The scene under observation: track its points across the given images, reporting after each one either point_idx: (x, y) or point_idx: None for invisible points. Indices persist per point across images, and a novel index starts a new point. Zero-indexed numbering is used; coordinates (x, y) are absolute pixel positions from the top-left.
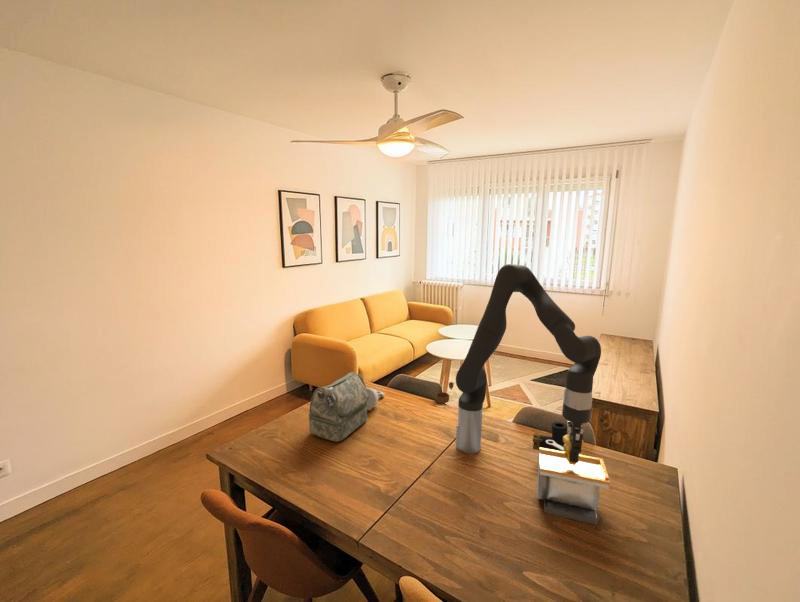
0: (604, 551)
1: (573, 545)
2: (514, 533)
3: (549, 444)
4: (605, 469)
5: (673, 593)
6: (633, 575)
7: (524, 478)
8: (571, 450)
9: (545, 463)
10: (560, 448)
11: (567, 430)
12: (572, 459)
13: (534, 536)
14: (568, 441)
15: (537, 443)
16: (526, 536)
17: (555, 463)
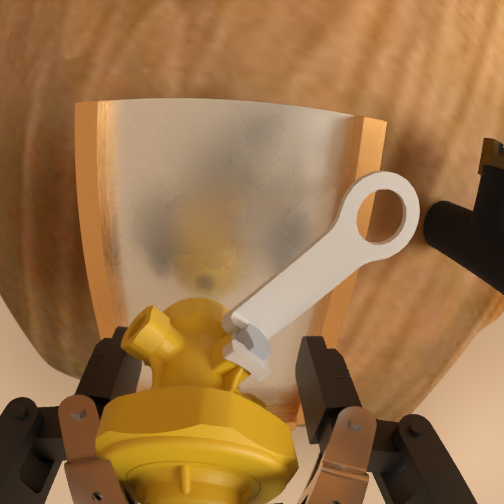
0: (70, 277)
1: (53, 207)
2: (42, 50)
3: (491, 209)
4: None
5: (44, 357)
6: (40, 314)
7: (347, 74)
8: (7, 406)
9: (196, 138)
10: (266, 293)
11: (309, 497)
12: (94, 353)
13: (45, 103)
14: (101, 446)
15: (499, 158)
16: (40, 82)
17: (220, 209)
